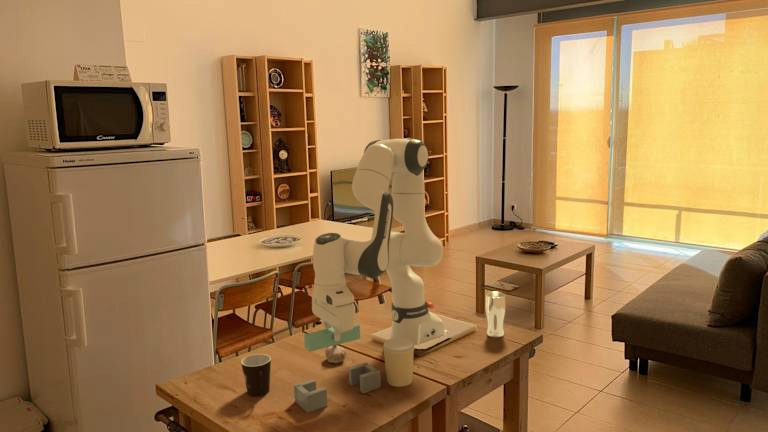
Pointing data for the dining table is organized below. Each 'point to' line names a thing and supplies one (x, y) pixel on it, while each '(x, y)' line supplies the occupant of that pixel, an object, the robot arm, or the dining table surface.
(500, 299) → the beer glass
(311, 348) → the slat
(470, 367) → the dining table surface
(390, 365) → the coffee cup
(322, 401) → the cap
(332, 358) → the garlic bulb
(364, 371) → the cap
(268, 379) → the coffee mug
